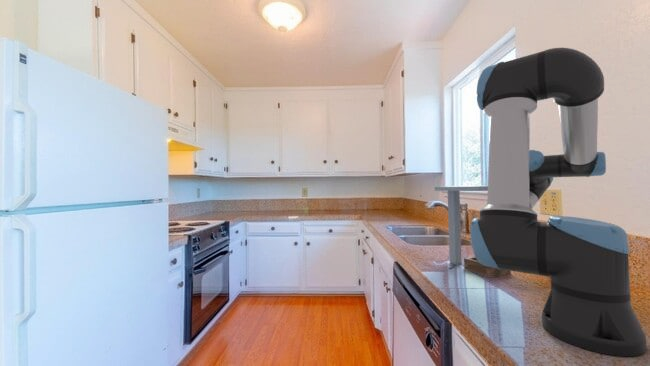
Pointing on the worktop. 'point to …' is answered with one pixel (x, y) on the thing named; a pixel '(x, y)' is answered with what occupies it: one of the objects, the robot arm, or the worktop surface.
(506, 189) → the robot arm
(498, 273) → the socket block
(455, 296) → the worktop surface
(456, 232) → the grey t-shaped post
